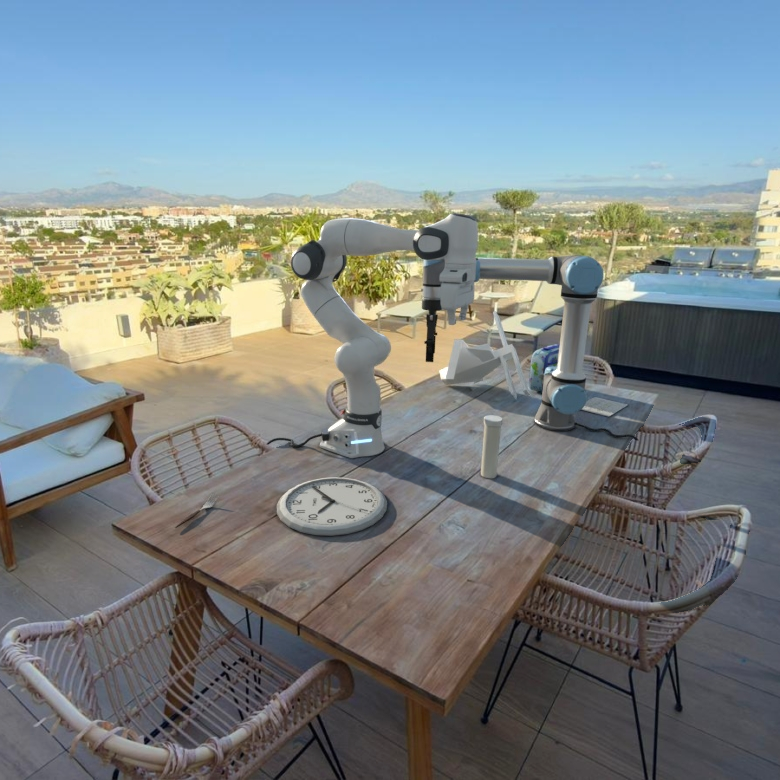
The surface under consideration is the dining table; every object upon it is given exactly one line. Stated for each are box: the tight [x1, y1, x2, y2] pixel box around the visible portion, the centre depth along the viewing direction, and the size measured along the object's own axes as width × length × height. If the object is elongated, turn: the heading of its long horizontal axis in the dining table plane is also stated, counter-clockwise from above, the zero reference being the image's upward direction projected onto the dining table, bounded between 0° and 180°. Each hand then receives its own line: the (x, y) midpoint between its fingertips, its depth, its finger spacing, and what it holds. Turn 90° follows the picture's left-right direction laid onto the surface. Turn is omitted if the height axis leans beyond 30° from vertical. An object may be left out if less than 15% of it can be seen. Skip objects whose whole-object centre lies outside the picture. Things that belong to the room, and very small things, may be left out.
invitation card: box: [580, 396, 629, 418], centre depth 226 cm, size 21×1×15 cm
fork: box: [174, 492, 220, 529], centre depth 137 cm, size 3×16×2 cm, turn 160°
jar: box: [480, 423, 502, 479], centre depth 159 cm, size 5×5×18 cm
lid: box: [483, 414, 503, 427], centre depth 157 cm, size 5×5×2 cm
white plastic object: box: [438, 310, 531, 400], centre depth 245 cm, size 37×45×31 cm
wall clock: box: [276, 476, 388, 537], centre depth 142 cm, size 30×2×30 cm
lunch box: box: [528, 344, 560, 393], centre depth 247 cm, size 26×11×21 cm, turn 134°
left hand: (457, 322), depth 152 cm, fingers open, 8 cm apart
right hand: (430, 357), depth 190 cm, fingers open, 13 cm apart
